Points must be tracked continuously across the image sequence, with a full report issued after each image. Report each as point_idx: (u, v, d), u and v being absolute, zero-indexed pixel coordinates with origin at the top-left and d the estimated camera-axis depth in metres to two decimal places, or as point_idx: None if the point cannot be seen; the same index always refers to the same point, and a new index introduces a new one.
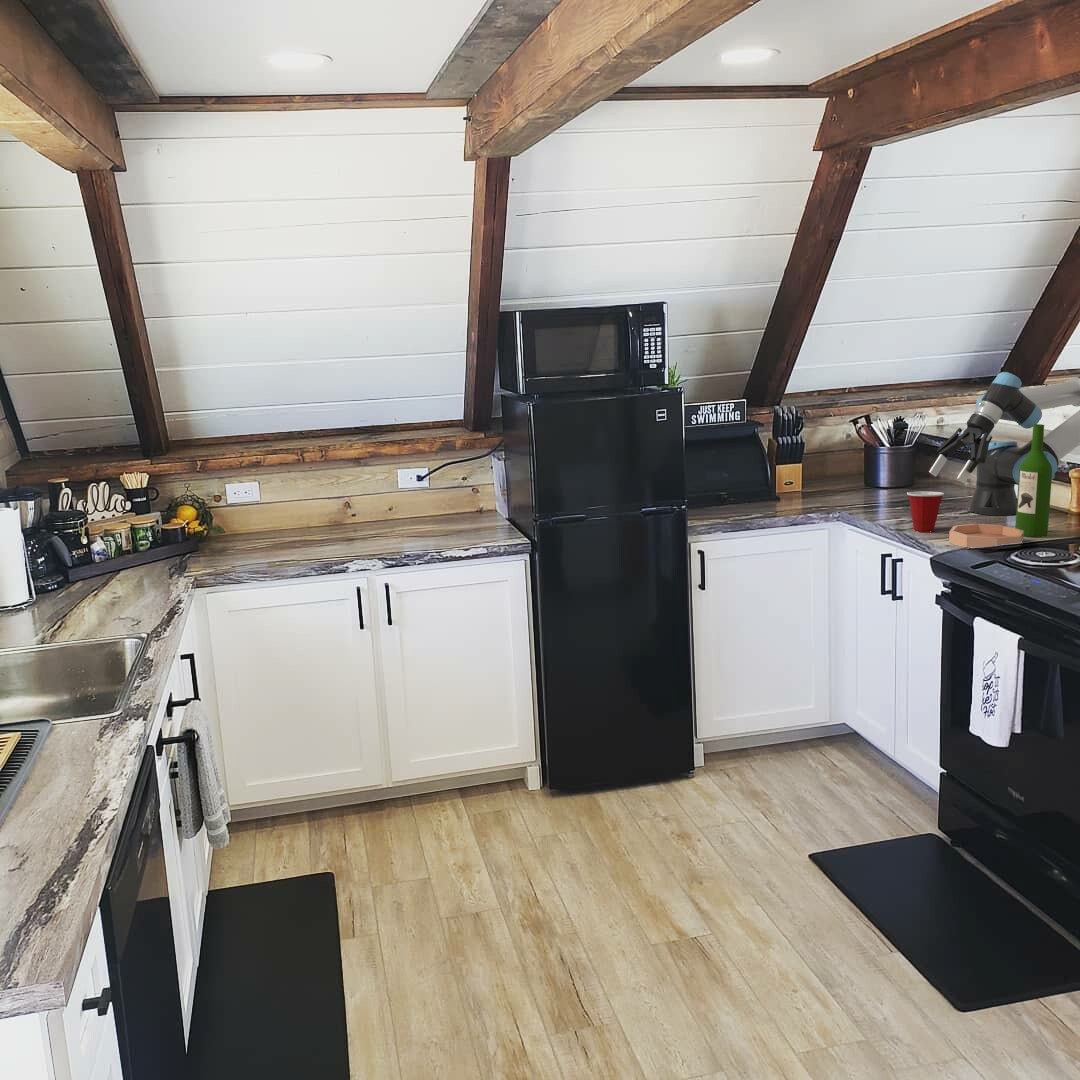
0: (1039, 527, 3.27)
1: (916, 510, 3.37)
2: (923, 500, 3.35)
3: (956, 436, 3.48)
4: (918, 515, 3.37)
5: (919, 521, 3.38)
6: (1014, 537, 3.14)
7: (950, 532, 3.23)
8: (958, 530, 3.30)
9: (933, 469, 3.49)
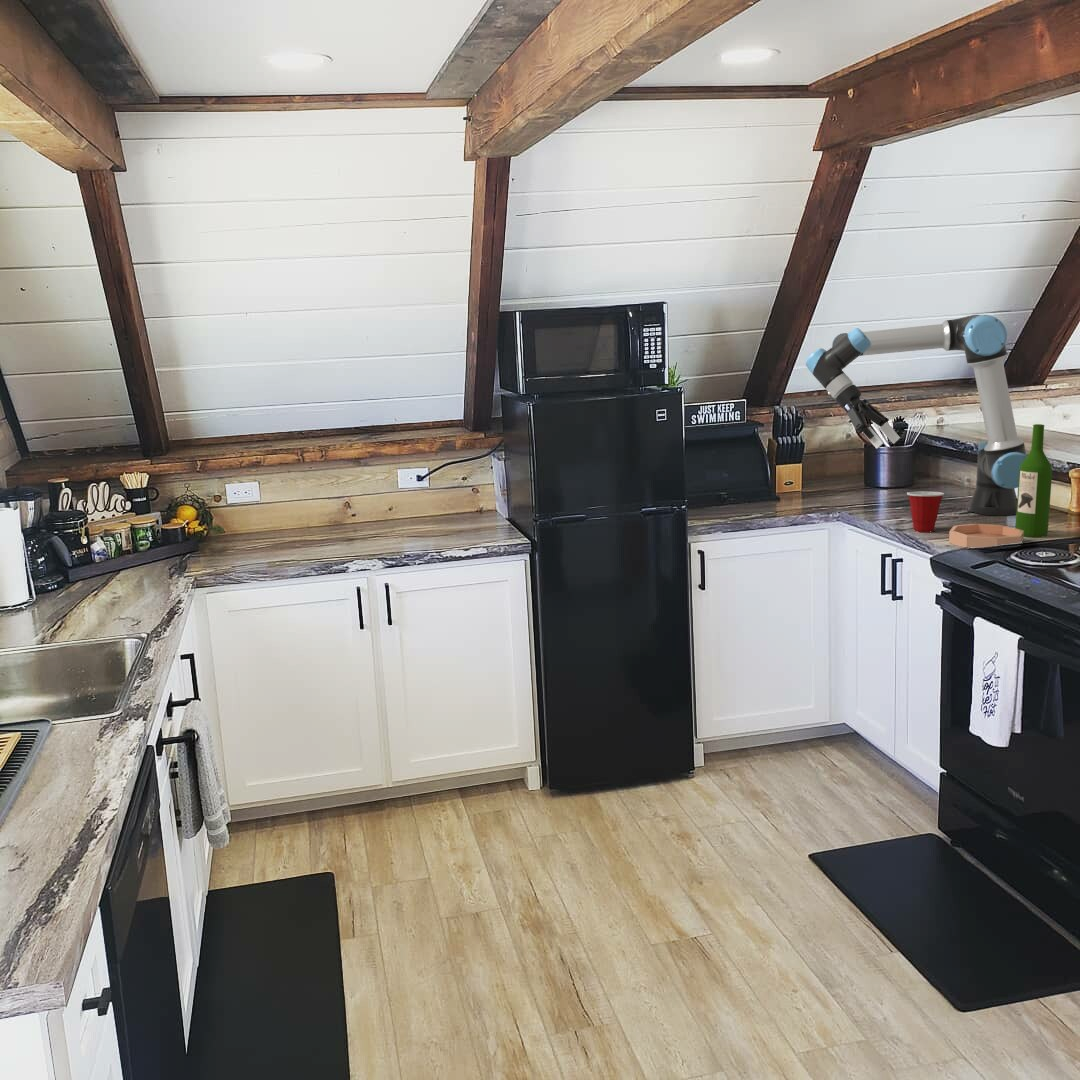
0: (1039, 527, 3.27)
1: (916, 510, 3.37)
2: (923, 500, 3.35)
3: None
4: (918, 515, 3.37)
5: (919, 521, 3.38)
6: (1014, 537, 3.14)
7: (950, 532, 3.23)
8: (958, 530, 3.30)
9: (891, 439, 3.49)
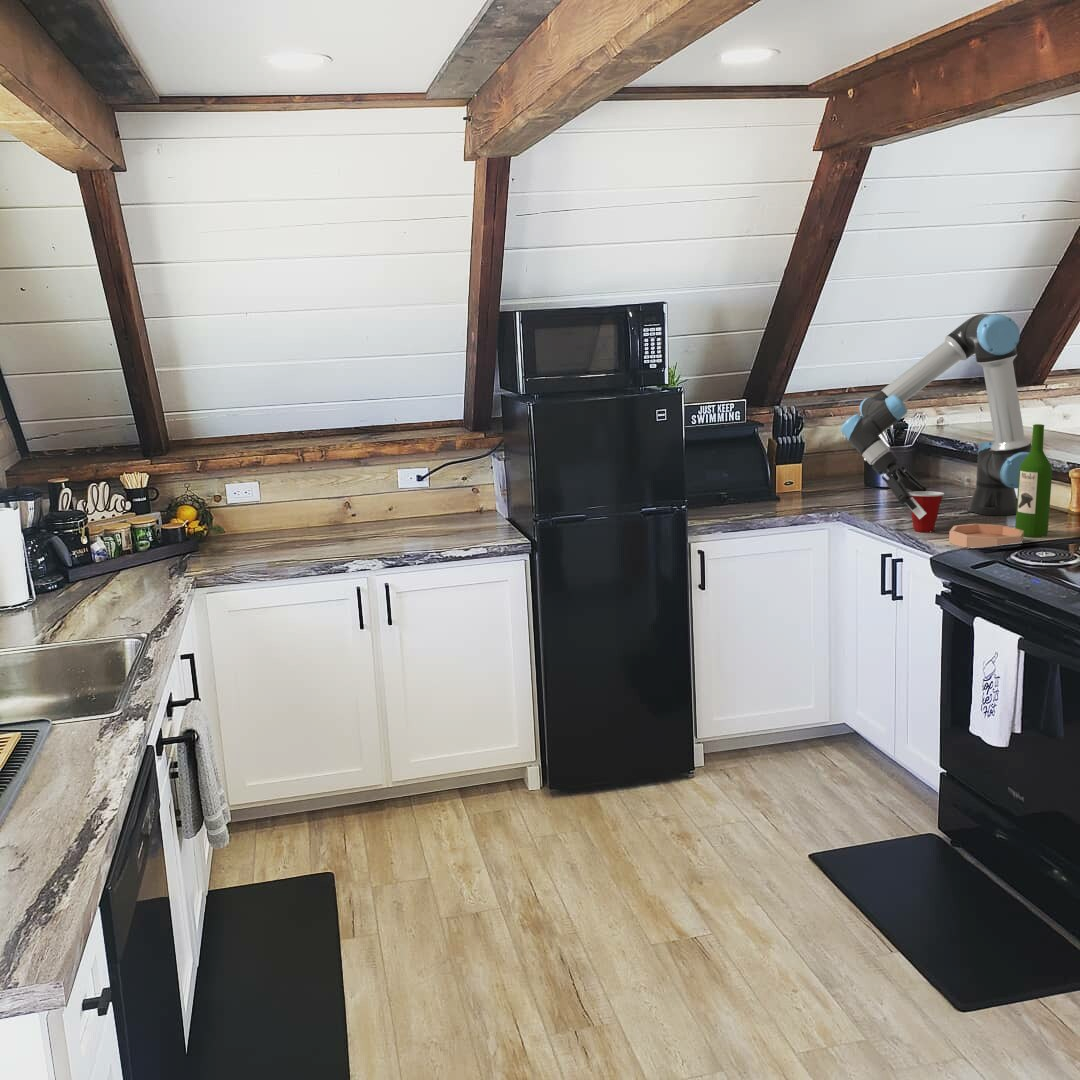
0: (1039, 527, 3.27)
1: None
2: (923, 500, 3.35)
3: None
4: None
5: (919, 521, 3.38)
6: (1014, 537, 3.14)
7: (950, 532, 3.23)
8: (958, 530, 3.30)
9: None
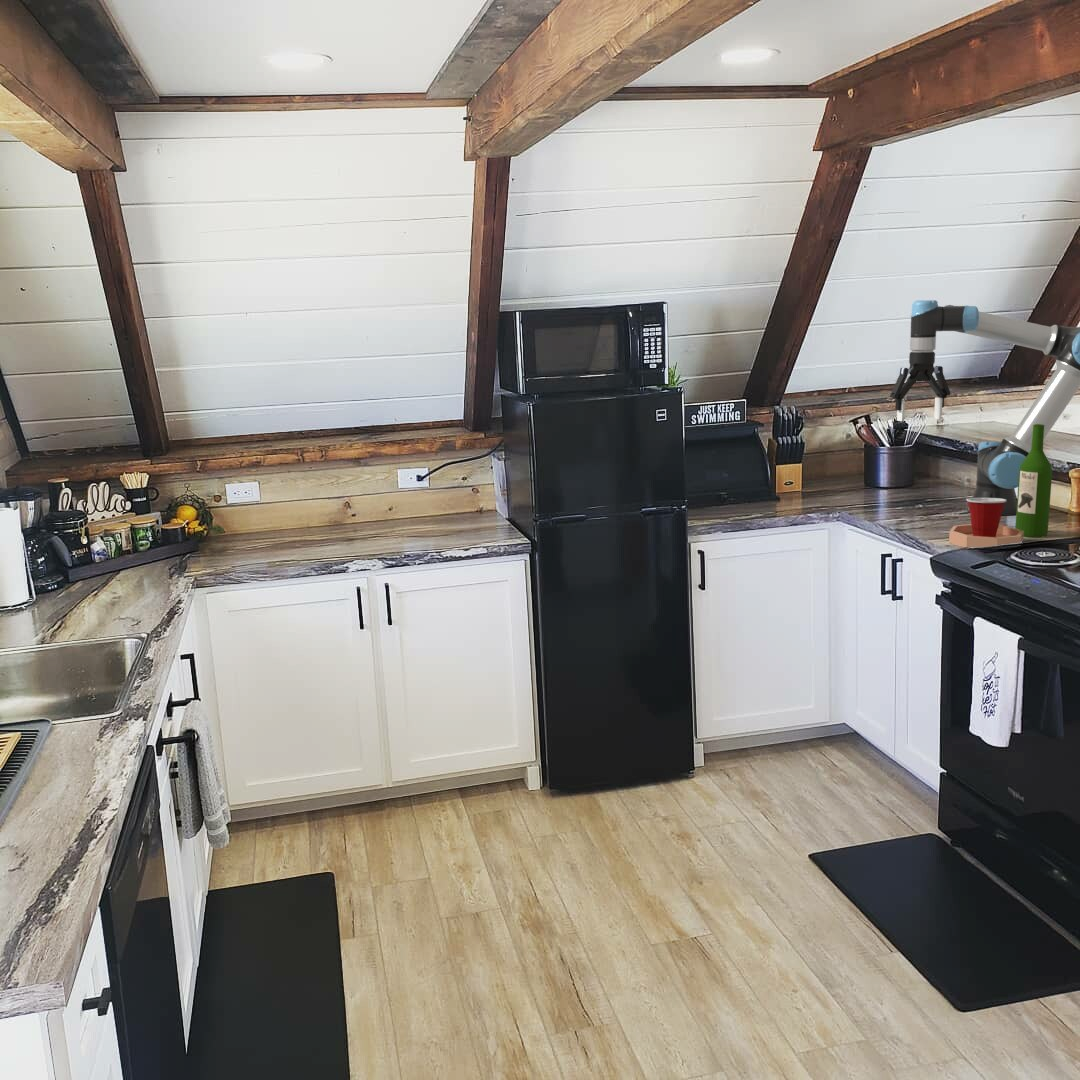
0: (1039, 527, 3.27)
1: (977, 517, 3.19)
2: (985, 507, 3.17)
3: (936, 374, 3.51)
4: (979, 523, 3.19)
5: (980, 529, 3.20)
6: (1014, 537, 3.14)
7: (950, 532, 3.23)
8: (958, 530, 3.30)
9: (935, 414, 3.54)
